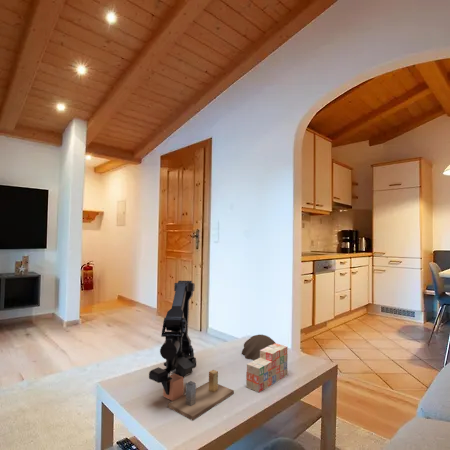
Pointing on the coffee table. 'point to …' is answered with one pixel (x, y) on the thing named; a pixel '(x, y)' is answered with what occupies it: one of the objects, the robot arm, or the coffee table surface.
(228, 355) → the coffee table surface
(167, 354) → the robot arm
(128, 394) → the coffee table surface
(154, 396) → the coffee table surface
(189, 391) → the steel post
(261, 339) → the decorative dome
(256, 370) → the stack of blocks
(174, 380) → the salmon orange block
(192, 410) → the board
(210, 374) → the brass post
